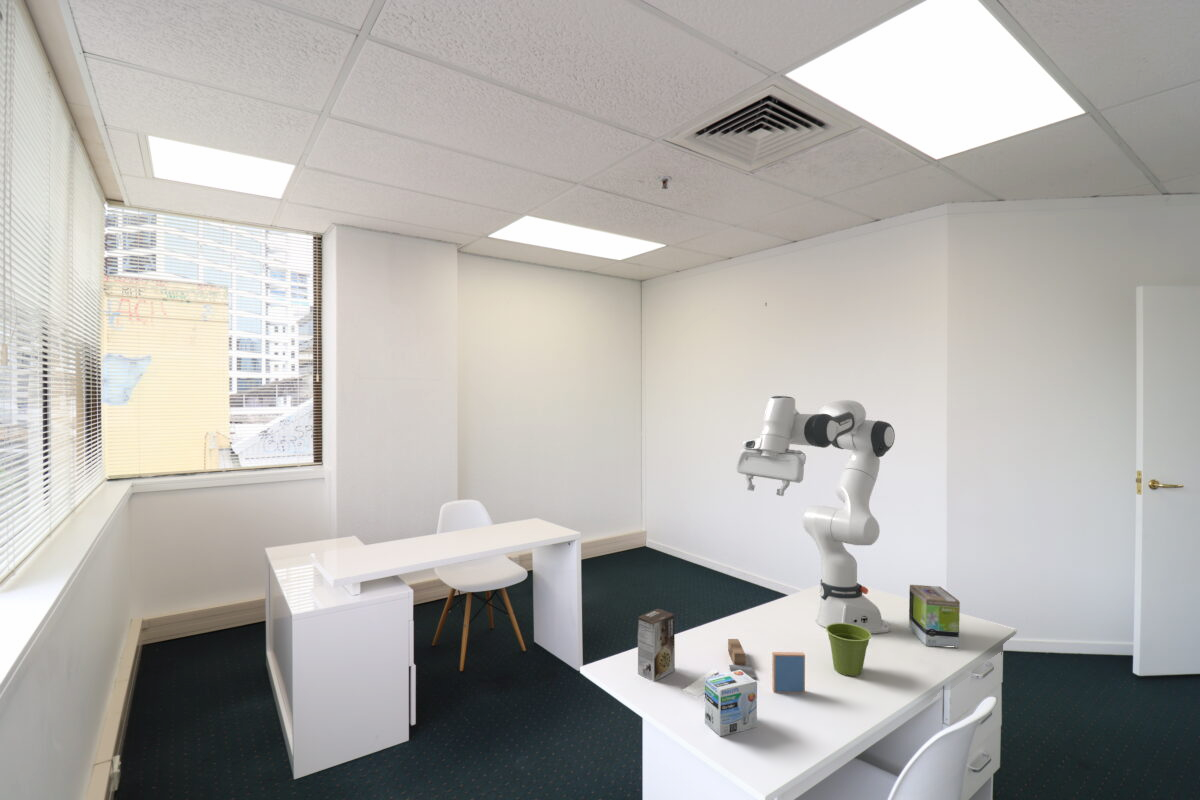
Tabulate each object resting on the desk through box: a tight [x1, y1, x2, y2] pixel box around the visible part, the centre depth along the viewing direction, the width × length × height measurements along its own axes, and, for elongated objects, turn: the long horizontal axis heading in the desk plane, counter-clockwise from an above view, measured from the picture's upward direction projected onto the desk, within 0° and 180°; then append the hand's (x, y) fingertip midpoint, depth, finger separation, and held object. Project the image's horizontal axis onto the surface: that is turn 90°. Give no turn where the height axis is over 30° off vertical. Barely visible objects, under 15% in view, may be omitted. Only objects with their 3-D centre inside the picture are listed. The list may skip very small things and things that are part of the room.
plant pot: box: [825, 623, 873, 677], centre depth 164 cm, size 12×12×11 cm
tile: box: [771, 651, 806, 694], centre depth 152 cm, size 8×2×10 cm, turn 88°
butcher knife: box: [682, 669, 719, 698], centre depth 156 cm, size 5×15×1 cm, turn 137°
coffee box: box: [637, 608, 676, 682], centre depth 162 cm, size 9×6×16 cm
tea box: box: [908, 584, 961, 648], centre depth 186 cm, size 15×10×15 cm
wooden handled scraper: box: [727, 638, 757, 680], centre depth 167 cm, size 17×6×4 cm, turn 178°
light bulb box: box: [704, 670, 758, 737], centre depth 137 cm, size 11×7×11 cm, turn 114°
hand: (764, 492), depth 172 cm, fingers open, 8 cm apart
